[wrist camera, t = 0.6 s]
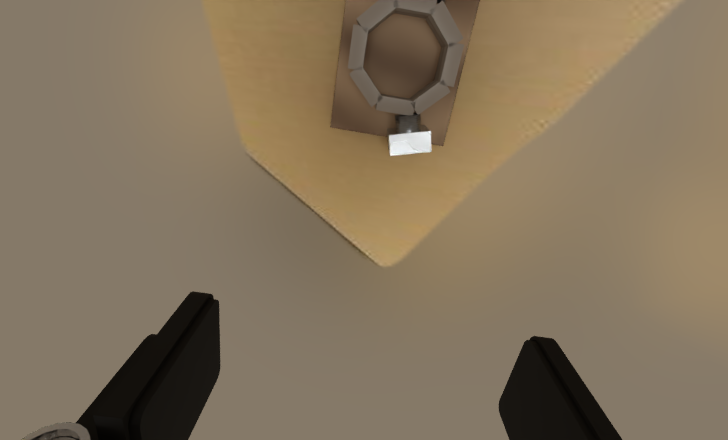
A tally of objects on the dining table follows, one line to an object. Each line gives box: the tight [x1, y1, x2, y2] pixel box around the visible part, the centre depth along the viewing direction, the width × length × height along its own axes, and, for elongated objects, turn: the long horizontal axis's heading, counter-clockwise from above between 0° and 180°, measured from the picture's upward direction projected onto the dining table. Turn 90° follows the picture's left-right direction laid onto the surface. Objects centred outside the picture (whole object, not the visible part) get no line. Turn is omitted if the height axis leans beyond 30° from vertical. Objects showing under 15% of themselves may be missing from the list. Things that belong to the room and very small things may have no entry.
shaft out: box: [387, 113, 431, 156], centre depth 32 cm, size 3×4×4 cm
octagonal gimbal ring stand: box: [330, 0, 480, 146], centre depth 30 cm, size 14×11×4 cm
